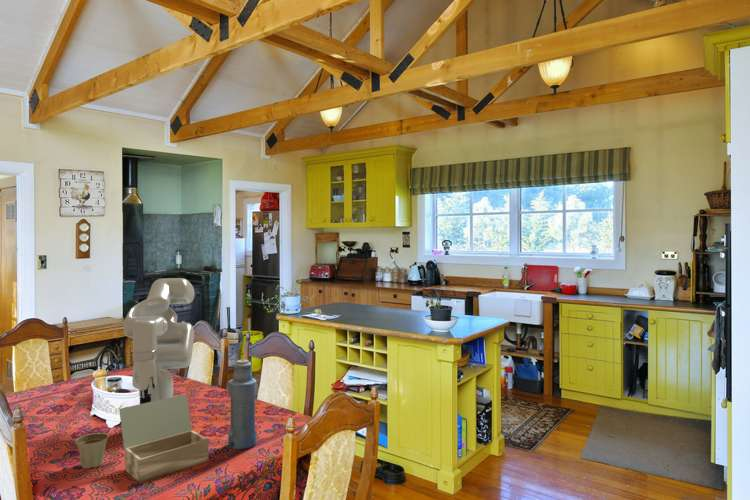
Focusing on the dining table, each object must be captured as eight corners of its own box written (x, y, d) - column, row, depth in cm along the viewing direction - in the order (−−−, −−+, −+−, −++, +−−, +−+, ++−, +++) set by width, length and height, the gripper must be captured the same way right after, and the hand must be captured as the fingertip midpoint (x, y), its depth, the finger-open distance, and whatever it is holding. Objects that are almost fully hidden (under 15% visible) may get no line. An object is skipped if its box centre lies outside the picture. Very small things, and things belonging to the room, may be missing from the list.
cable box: (125, 470, 162) (125, 448, 162) (192, 450, 178) (191, 430, 178) (139, 483, 154) (139, 460, 154) (208, 460, 169) (208, 439, 169)
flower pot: (84, 458, 171) (84, 433, 171) (113, 457, 172) (113, 432, 172) (70, 471, 162) (69, 444, 161) (101, 470, 162) (100, 443, 162)
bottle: (227, 441, 185) (226, 358, 185) (254, 437, 189) (254, 356, 188) (230, 451, 176) (229, 364, 176) (259, 447, 180) (258, 362, 179)
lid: (125, 448, 162) (123, 448, 163) (191, 430, 178) (190, 430, 179) (120, 408, 165) (118, 408, 166) (186, 393, 180) (185, 394, 181)
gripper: (125, 354, 180) (126, 406, 181) (142, 360, 170) (142, 415, 170) (147, 350, 186) (148, 401, 186) (164, 357, 175) (165, 410, 175)
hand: (145, 408), depth 178 cm, fingers closed
